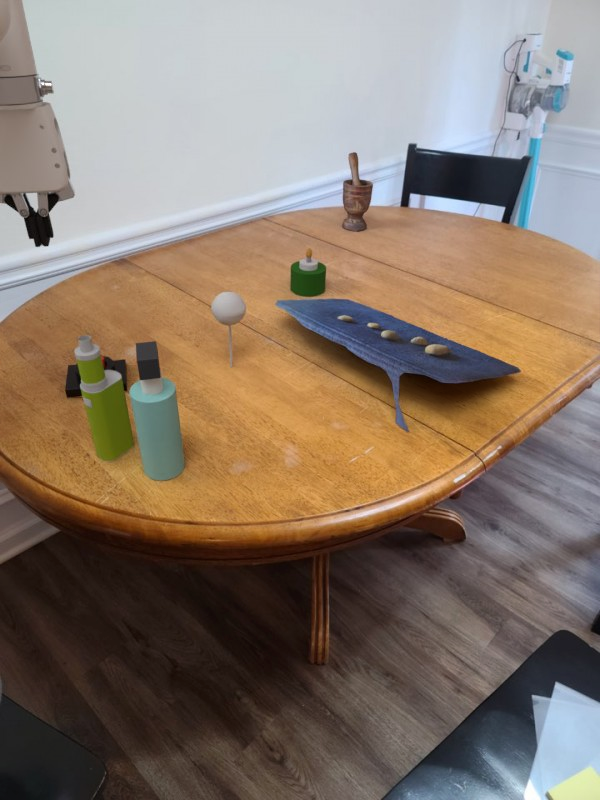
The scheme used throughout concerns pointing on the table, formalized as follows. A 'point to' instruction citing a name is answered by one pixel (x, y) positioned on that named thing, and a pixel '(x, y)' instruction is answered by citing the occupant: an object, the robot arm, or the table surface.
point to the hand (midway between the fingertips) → (43, 243)
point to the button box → (75, 379)
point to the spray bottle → (156, 417)
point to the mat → (394, 344)
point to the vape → (103, 403)
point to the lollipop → (228, 312)
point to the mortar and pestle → (356, 197)
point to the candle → (308, 277)
